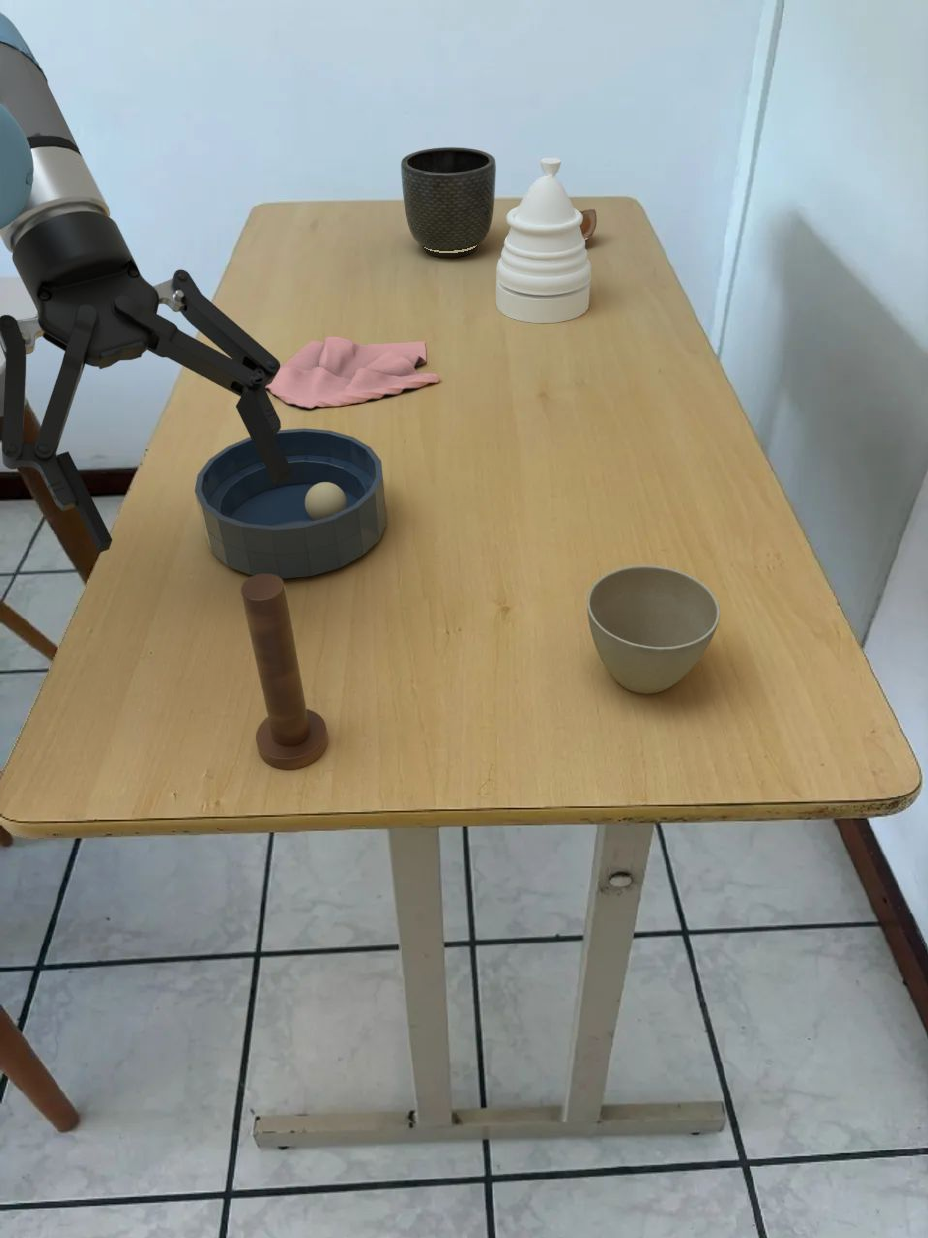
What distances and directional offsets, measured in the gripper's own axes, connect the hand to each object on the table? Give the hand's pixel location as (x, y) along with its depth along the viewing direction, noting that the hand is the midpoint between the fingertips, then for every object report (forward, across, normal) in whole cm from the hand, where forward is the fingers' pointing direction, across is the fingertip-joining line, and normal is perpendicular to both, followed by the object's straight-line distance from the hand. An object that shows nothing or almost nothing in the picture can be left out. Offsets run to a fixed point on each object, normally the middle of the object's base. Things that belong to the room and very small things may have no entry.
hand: (198, 511), depth 68 cm
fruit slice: (-28, -85, -50) cm, 103 cm away
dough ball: (0, -16, -19) cm, 25 cm away
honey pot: (-17, -67, -40) cm, 80 cm away
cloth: (-16, -36, -39) cm, 55 cm away
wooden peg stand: (+18, 0, -4) cm, 19 cm away
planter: (-35, -70, -57) cm, 97 cm away
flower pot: (+26, -26, +3) cm, 37 cm away
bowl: (+1, -14, -22) cm, 26 cm away
